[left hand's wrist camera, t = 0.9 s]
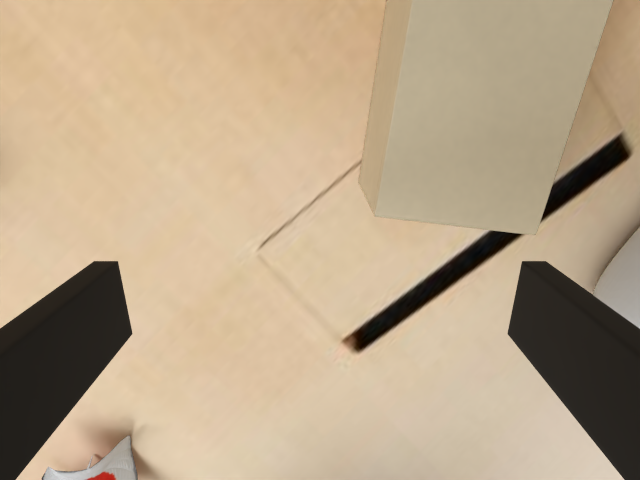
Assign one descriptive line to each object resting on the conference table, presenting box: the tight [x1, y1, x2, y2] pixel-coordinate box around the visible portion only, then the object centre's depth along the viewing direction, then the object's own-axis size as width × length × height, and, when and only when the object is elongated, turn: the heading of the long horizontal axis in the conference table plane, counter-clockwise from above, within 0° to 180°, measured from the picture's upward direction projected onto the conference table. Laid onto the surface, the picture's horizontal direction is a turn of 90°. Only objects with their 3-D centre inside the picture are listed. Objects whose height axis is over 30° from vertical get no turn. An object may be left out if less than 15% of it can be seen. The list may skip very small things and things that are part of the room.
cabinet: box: [358, 0, 613, 235], centre depth 27 cm, size 18×11×11 cm, turn 173°
